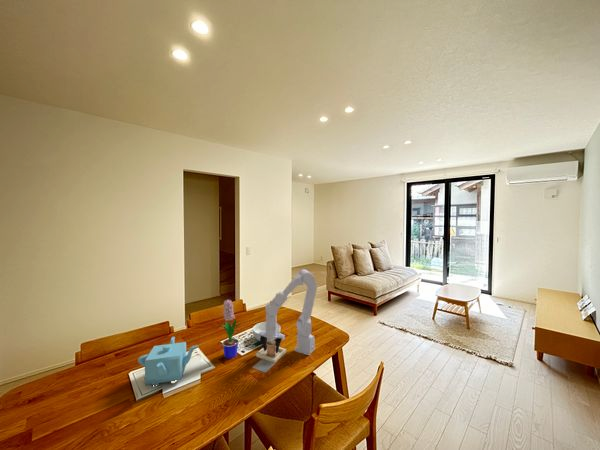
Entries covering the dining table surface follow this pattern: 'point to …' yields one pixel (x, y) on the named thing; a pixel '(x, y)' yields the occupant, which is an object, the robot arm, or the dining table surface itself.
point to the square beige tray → (277, 356)
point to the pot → (271, 348)
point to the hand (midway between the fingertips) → (271, 351)
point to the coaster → (263, 365)
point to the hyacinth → (229, 331)
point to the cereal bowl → (263, 330)
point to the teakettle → (165, 362)
